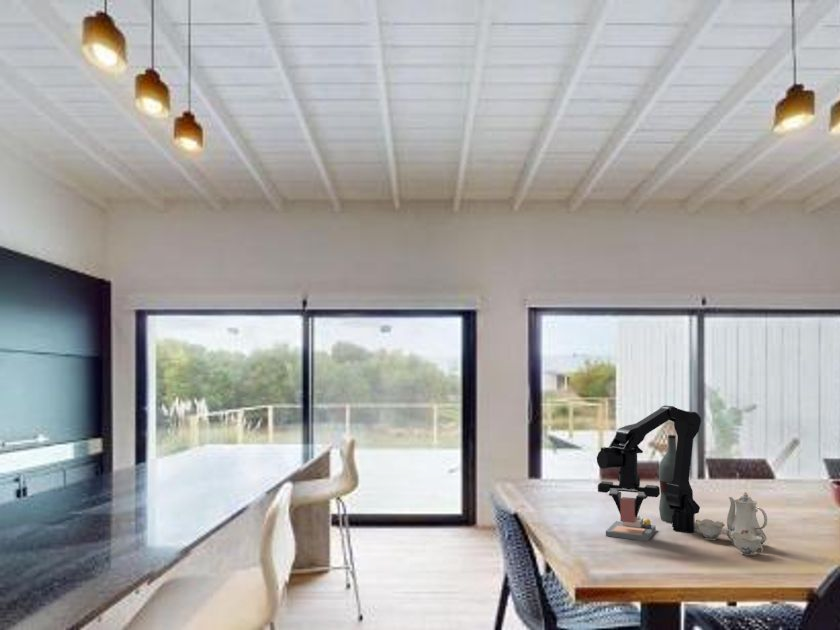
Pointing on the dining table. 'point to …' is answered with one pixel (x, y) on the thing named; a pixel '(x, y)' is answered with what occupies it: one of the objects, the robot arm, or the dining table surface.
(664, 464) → the bottle
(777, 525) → the dining table surface
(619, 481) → the robot arm
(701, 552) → the dining table surface
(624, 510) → the red rectangular block
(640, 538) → the panel
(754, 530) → the chinaware
